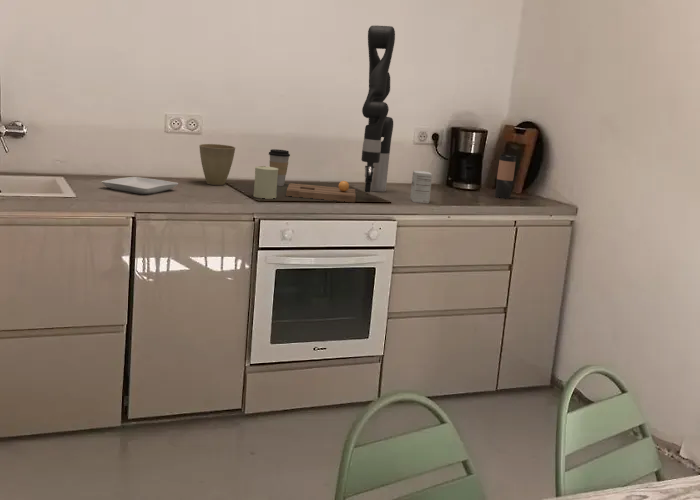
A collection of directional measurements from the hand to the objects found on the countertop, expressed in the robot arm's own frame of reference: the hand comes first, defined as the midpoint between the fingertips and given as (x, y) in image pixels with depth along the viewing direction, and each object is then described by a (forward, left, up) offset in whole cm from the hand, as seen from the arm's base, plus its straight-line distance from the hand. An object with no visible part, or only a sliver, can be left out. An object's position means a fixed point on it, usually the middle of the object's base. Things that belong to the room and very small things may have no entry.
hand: (367, 191), depth 331 cm
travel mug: (-44, +66, -4) cm, 79 cm away
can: (+16, -41, -4) cm, 44 cm away
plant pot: (-6, -64, -4) cm, 64 cm away
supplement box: (-9, +23, -4) cm, 25 cm away
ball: (0, -10, +2) cm, 10 cm away
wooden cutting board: (0, -19, -3) cm, 19 cm away
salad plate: (+25, -88, -4) cm, 91 cm away
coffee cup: (-20, -39, -4) cm, 44 cm away
